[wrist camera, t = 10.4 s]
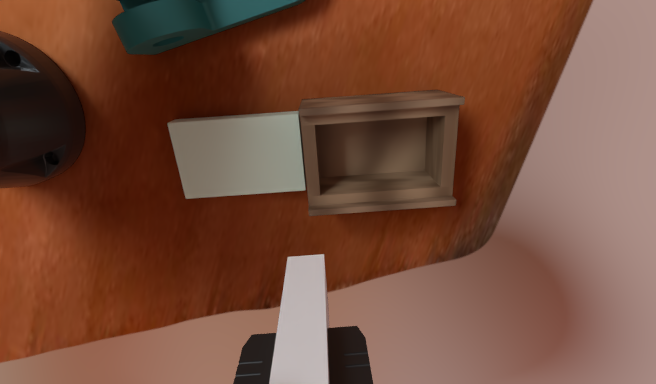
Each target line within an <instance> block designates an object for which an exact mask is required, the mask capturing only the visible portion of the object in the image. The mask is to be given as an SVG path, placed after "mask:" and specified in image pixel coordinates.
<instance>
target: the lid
mask: <svg viewBox="0 0 656 384" xmlns="http://www.w3.org/2000/svg"><path fill="white" fill-rule="evenodd" d="M167 125H168V129H169V133H170V137H171V141H172V145H173V149H174V153H175V157H176V161H177V165H178V169H179V174H180V178H181V182H182V186H183V190H184V194H185V198H186V199H192V198H206V197H220V196H234V195H248V194H262V193H276V192H290V191H304V190H306V178H305V168H304V157H303V147H302V136H301V126H300V116H299V111H290V112H275V113H261V114H246V115H232V116H217V117H203V118H189V119H175V120H173V121H171V122H168V123H167Z"/></svg>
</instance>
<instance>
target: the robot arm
mask: <svg viewBox="0 0 656 384" xmlns="http://www.w3.org/2000/svg"><path fill="white" fill-rule="evenodd" d="M84 139H85V119H84V114H83V110H82V106H81V104H80V101H79V98H78V96H77V94H76V92H75V90H74V88H73V87H72V85H71V83H70V82H69V80H68V79H67V77H66V76H65V75H64V74H63V72H62V71H61V70H60V69H59V68H58V67H57V65H56V64H55V63H54V62H53V61H52V60H50V59H49V58H48V57H47V56H46V55H45V54H43V53H42V52H41V51H40V50H38V49H37V48H35V47H34V46H32V45H31V44H29V43H27V42H25V41H24V40H22V39H20V38H18V37H15V36H13V35H10V34H7V33H4V32H1V31H0V188H12V187H24V186H30V185H34V184H37V183H40V182H43V181H45V180H48V179H50V178H52V177H54V176H57V175H59V174H61V173H62V172H64V171H65V170H67V169H68V168H69V167H70V166H71V165H72V164H73V163H74V162H75V161H76V159H77V158H78V156H79V154H80V152H81V150H82V147H83V144H84ZM233 384H373V380H372V374H371V369H370V363H369V357H368V351H367V345H366V339H365V337H364V335H363V334H362V333H361V331H360V330H359V328H358V327H357V326H352V327H351V326H350V327H337V328H329V312H328V297H327V285H326V273H325V261H324V254H320V255H306V256H293V257H288V259H287V266H286V272H285V279H284V286H283V293H282V300H281V306H280V314H279V320H278V327H277V333H269V334H256V335H251V337H250V338H249V340H248V341H247V343H246V344H245V345H244V346H243V348H242V352H241V356H240V360H239V365H238V367H237V371H236V378H235V379H234V383H233Z"/></svg>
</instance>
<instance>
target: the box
mask: <svg viewBox="0 0 656 384" xmlns="http://www.w3.org/2000/svg"><path fill="white" fill-rule="evenodd" d="M464 102H465V97H462V96H459V95H455V94H451V93H447V92H444V91H440V90H428V91H414V92H400V93H386V94H372V95H358V96H344V97H330V98H316V99H302V102H301V104H300V107H299V116H300V120H301V131H302V141H303V151H304V162H305V172H306V182H307V193H308V203H309V216H318V215H331V214H345V213H359V212H373V211H387V210H401V209H415V208H429V207H443V206H456V199H455V198H454V197H453V196H452V194H453V181H454V168H455V156H456V143H457V130H458V117H459V105H464Z"/></svg>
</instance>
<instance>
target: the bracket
mask: <svg viewBox="0 0 656 384" xmlns="http://www.w3.org/2000/svg"><path fill="white" fill-rule="evenodd" d="M117 1H120V3H121V5H122V7H123V9H124V11H125V12H123V13H121V14H119V15H118V16H116V17H115V18H114V19H113V20H112V24H113V26H114V28H115V30H116V32H117V34H118V36H119V38H120V40H121V42H122V44H123V46H124V48H125V50H126V52H127V53H128V54H146V55H156V54H158V53H161V52H164V51H167V50H170V49H173V48H176V47H178V46H181V45H184V44H187V43H190V42H193V41H196V40H198V39H201V38H204V37H207V36H210V35H213V34H216V33H218V32H221V31H224V30H227V29H230V28H233V27H236V26H238V25H241V24H244V23H247V22H250V21H253V20H256V19H258V18H261V17H264V16H267V15H270V14H273V13H276V12H278V11H281V10H284V9H287V8H290V7H293V6H296V5H298V4H301V3H302V2H304V1H305V0H117Z"/></svg>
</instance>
